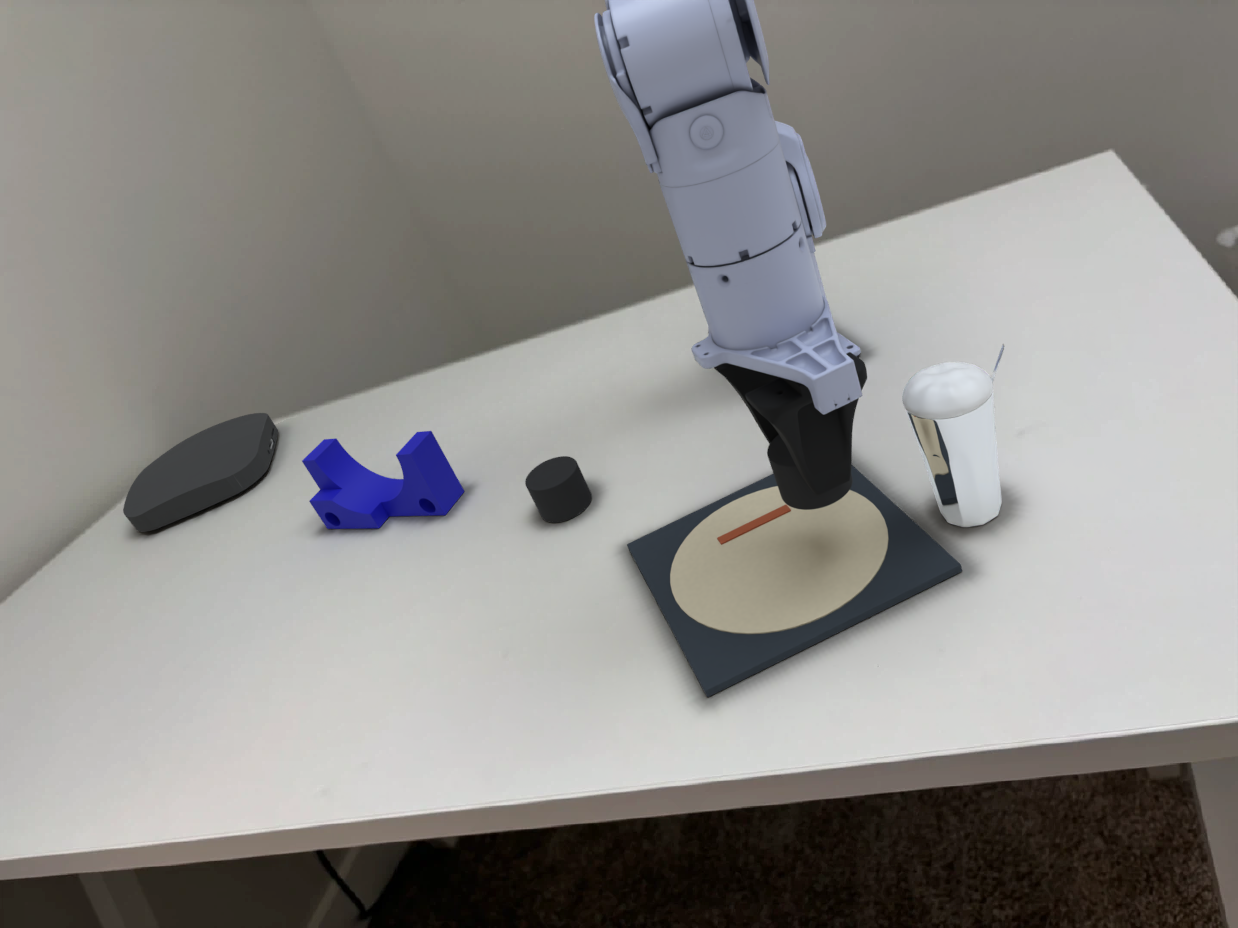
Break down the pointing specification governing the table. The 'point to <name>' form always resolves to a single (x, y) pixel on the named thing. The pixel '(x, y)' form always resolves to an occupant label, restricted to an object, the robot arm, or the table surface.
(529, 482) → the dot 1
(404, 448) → the cable clip
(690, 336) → the table surface
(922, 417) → the milkshake
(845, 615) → the board
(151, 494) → the media streaming box
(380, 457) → the table surface
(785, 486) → the dot
